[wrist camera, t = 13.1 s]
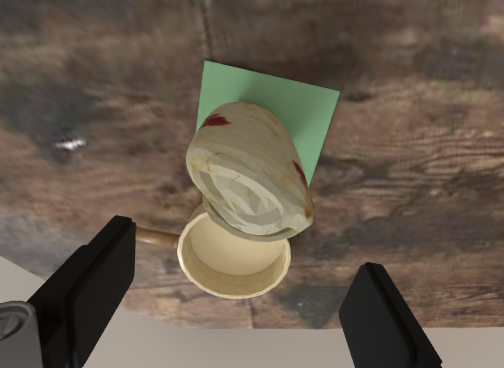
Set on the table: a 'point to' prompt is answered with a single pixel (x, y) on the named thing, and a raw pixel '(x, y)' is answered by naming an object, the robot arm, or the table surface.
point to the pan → (229, 259)
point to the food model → (250, 174)
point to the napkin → (273, 105)
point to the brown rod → (157, 237)
